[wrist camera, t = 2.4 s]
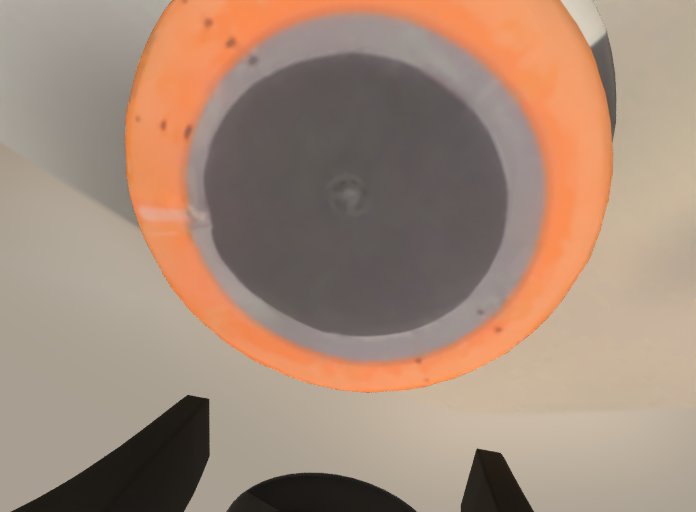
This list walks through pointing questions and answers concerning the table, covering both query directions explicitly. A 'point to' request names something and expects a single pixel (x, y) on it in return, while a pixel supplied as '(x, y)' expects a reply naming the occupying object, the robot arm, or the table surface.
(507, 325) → the pill bottle
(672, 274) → the table surface
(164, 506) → the robot arm
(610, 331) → the table surface
